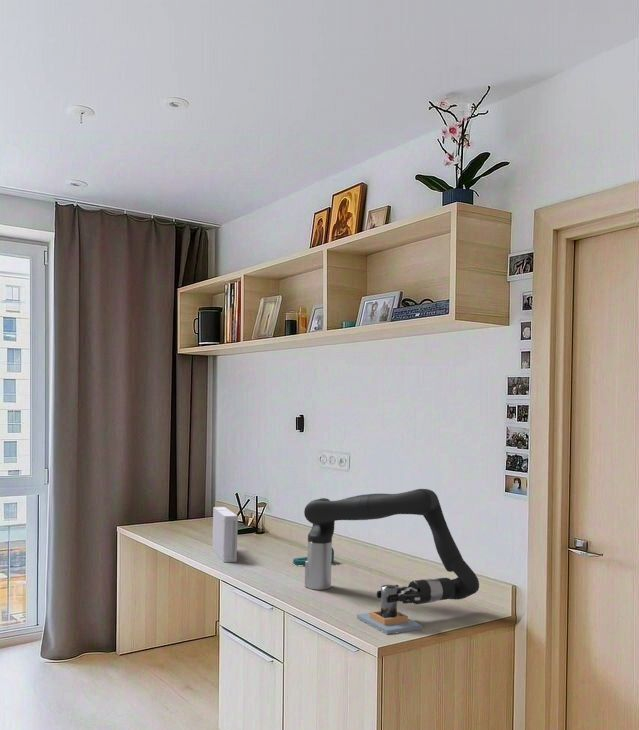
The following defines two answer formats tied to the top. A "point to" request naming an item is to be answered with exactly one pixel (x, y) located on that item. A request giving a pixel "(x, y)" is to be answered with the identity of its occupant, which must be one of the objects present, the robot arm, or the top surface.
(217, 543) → the game console
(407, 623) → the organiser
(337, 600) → the top surface
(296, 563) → the bracket
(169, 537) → the top surface
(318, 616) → the top surface
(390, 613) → the grey capped cylinder
